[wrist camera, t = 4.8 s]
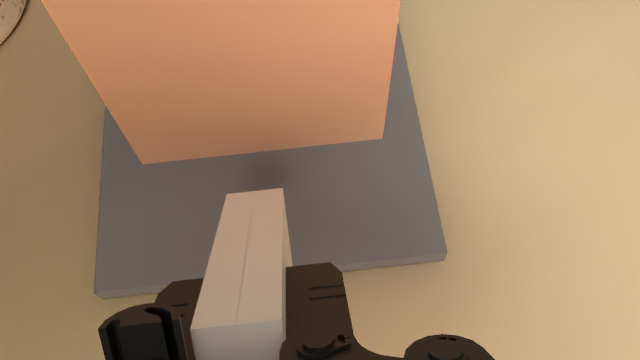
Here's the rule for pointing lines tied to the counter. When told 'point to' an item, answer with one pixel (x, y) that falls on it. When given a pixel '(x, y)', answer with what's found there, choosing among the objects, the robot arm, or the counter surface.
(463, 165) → the counter surface
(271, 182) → the mat
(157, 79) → the peach box
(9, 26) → the teacup with lid
